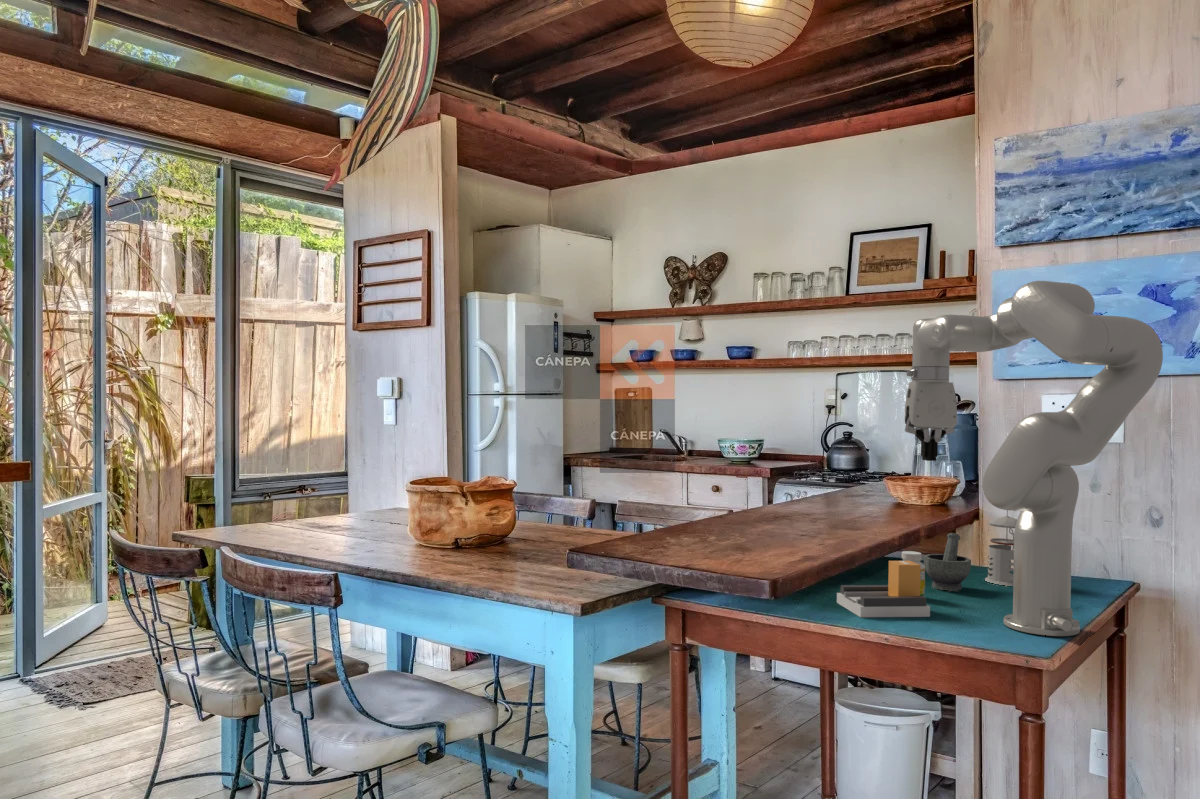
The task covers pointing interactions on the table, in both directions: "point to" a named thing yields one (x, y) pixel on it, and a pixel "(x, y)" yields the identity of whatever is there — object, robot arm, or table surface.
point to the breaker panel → (882, 609)
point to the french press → (1001, 554)
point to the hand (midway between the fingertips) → (929, 460)
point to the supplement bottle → (916, 558)
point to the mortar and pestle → (948, 566)
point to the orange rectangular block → (904, 578)
